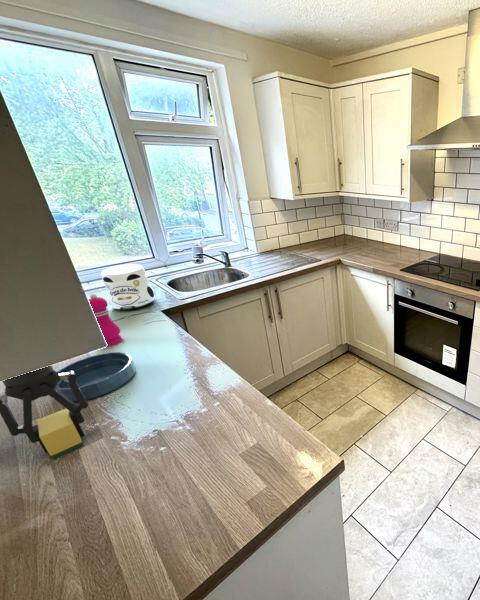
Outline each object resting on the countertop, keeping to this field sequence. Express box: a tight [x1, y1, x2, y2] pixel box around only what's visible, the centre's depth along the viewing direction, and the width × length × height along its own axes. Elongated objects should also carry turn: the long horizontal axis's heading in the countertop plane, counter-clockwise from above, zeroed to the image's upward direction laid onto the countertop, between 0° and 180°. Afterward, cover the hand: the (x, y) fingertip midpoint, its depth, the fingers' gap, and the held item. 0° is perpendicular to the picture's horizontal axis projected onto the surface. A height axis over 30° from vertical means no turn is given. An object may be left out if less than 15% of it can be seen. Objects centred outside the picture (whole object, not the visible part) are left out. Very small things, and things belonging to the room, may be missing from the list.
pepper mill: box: [88, 293, 123, 347], centre depth 121 cm, size 7×7×20 cm
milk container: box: [100, 264, 156, 311], centre depth 153 cm, size 17×17×18 cm
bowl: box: [56, 351, 136, 402], centre depth 102 cm, size 19×19×5 cm
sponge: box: [36, 408, 84, 460], centre depth 79 cm, size 8×6×7 cm
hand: (64, 440), depth 81 cm, fingers closed on sponge, 5 cm apart
